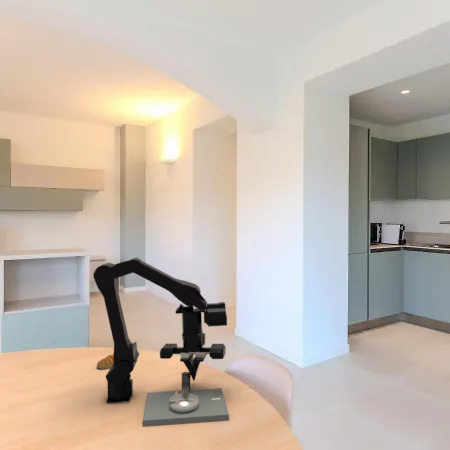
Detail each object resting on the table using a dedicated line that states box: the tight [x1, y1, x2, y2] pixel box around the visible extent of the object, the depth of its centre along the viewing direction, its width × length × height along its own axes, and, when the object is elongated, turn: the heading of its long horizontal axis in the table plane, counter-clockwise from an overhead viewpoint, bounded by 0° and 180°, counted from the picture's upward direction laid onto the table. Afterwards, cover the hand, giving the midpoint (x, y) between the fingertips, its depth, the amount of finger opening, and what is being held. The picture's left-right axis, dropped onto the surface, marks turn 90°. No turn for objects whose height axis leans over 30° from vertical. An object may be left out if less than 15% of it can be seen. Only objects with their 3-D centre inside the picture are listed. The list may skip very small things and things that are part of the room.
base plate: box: [142, 387, 230, 427], centre depth 108 cm, size 22×16×2 cm
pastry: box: [96, 353, 114, 370], centre depth 140 cm, size 9×7×4 cm
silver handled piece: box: [169, 371, 199, 413], centre depth 110 cm, size 15×8×5 cm, turn 2°
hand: (194, 380), depth 116 cm, fingers closed
